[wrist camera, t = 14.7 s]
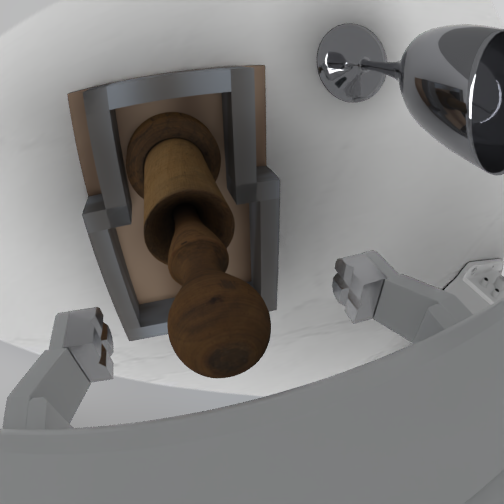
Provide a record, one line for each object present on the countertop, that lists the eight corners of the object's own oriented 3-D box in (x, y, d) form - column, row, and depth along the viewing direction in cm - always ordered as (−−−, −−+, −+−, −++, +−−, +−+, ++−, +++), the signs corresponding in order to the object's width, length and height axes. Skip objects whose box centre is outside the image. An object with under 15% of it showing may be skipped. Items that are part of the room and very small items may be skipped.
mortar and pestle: (109, 164, 21) (65, 387, 7) (165, 93, 20) (216, 200, 6) (178, 211, 25) (238, 430, 11) (233, 148, 23) (378, 322, 9)
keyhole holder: (262, 65, 21) (280, 67, 18) (264, 286, 33) (276, 309, 30) (69, 93, 18) (56, 99, 15) (128, 314, 30) (129, 341, 27)
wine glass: (323, 5, 19) (488, -1, 7) (398, 39, 22) (547, 72, 10) (302, 94, 23) (451, 157, 11) (378, 116, 26) (516, 186, 14)
